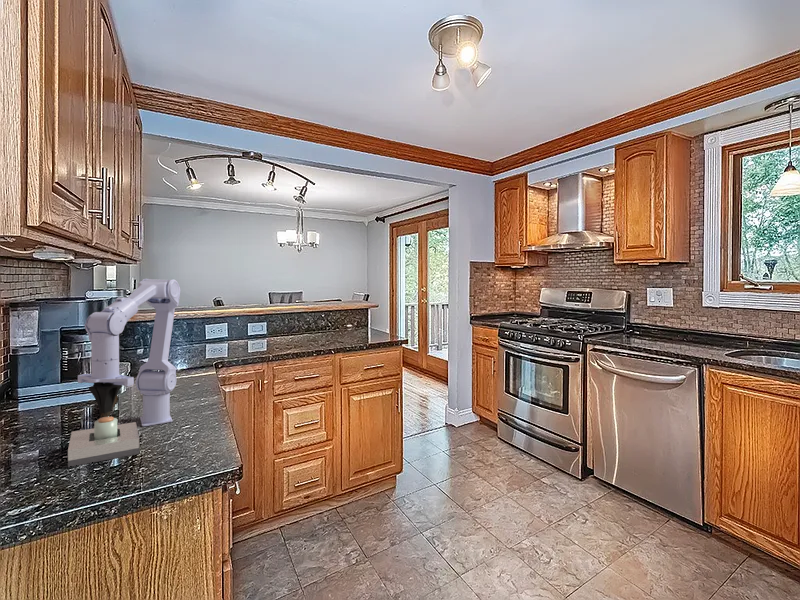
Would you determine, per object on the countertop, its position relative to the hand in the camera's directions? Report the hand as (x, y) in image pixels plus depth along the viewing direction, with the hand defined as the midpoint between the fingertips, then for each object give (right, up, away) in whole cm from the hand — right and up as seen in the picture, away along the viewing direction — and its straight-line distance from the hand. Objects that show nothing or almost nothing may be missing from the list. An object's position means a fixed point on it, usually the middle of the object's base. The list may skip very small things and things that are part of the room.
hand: (105, 411), depth 105 cm
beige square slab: (0, -10, 0) cm, 10 cm away
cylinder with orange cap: (0, -8, 0) cm, 8 cm away
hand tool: (-20, -9, +30) cm, 37 cm away
